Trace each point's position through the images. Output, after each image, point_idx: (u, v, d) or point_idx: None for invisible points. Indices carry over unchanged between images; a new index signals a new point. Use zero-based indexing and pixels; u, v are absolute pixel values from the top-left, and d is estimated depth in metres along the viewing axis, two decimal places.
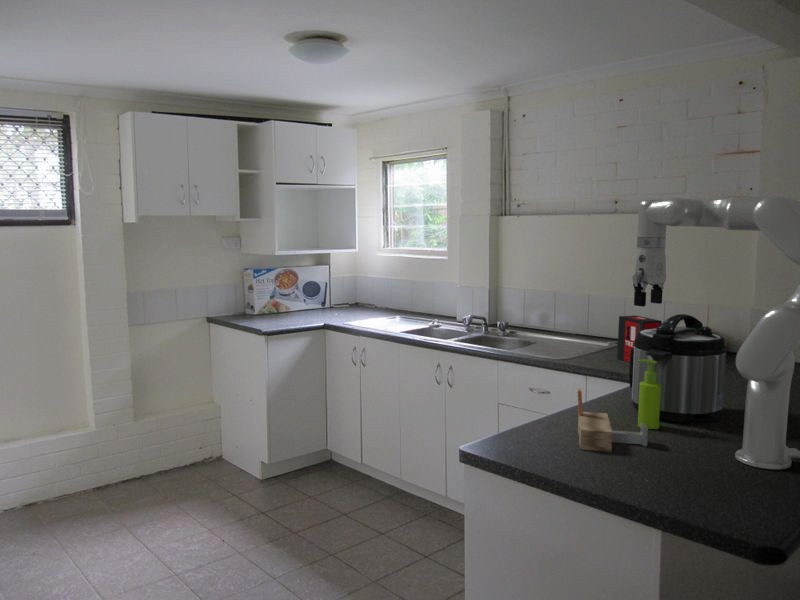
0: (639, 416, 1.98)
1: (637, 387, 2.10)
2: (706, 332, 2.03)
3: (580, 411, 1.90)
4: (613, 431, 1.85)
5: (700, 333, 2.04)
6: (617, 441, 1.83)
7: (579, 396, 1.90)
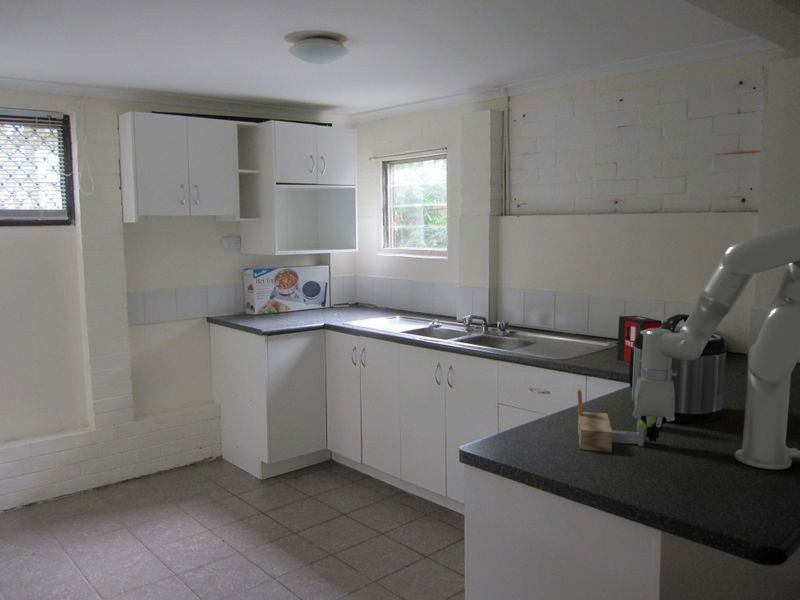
0: None
1: None
2: None
3: (580, 411, 1.90)
4: None
5: None
6: (613, 440, 1.83)
7: (579, 396, 1.90)
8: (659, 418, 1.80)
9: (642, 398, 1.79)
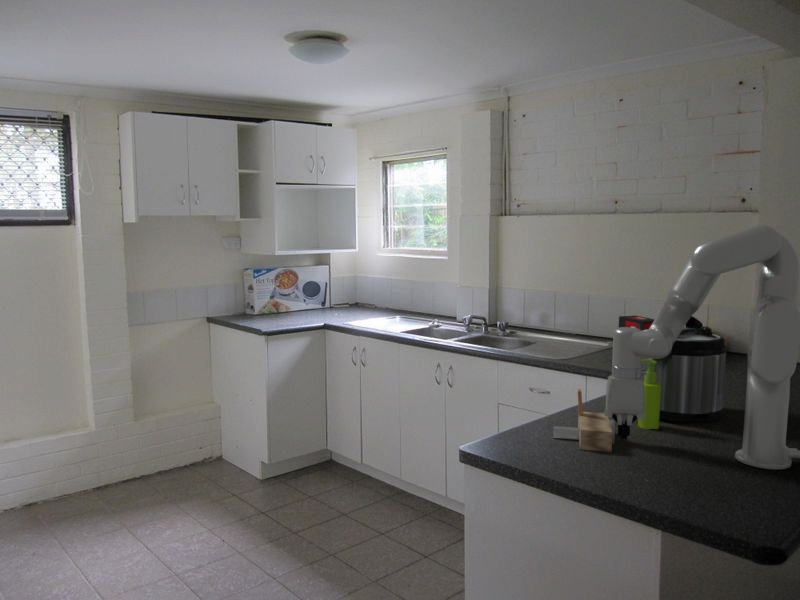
0: None
1: None
2: (706, 332, 2.03)
3: (580, 411, 1.90)
4: None
5: (700, 333, 2.04)
6: None
7: (579, 396, 1.90)
8: (630, 416, 1.82)
9: (612, 396, 1.81)
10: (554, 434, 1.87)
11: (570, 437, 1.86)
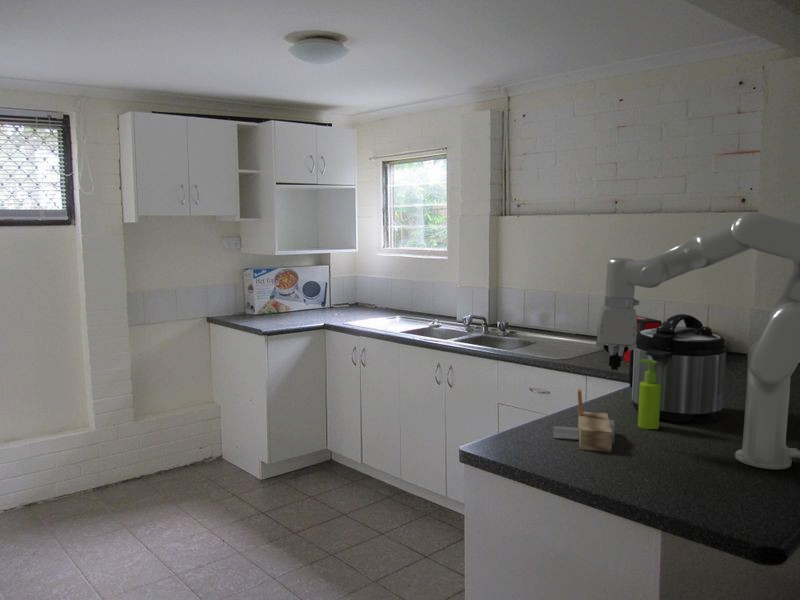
0: (639, 416, 1.98)
1: (637, 387, 2.10)
2: (706, 332, 2.03)
3: (580, 411, 1.90)
4: None
5: (700, 333, 2.04)
6: None
7: (579, 396, 1.90)
8: (621, 346, 1.82)
9: (605, 326, 1.81)
10: (554, 434, 1.87)
11: (570, 437, 1.86)
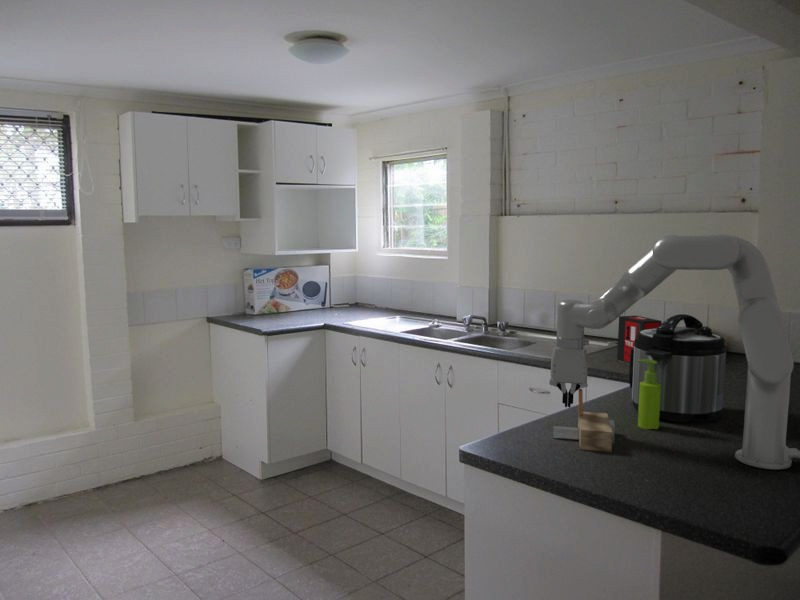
0: (639, 416, 1.98)
1: (637, 387, 2.10)
2: (706, 332, 2.03)
3: (580, 411, 1.90)
4: None
5: (700, 333, 2.04)
6: None
7: (580, 396, 1.90)
8: (573, 385, 1.90)
9: (556, 366, 1.90)
10: (554, 434, 1.87)
11: (570, 437, 1.86)
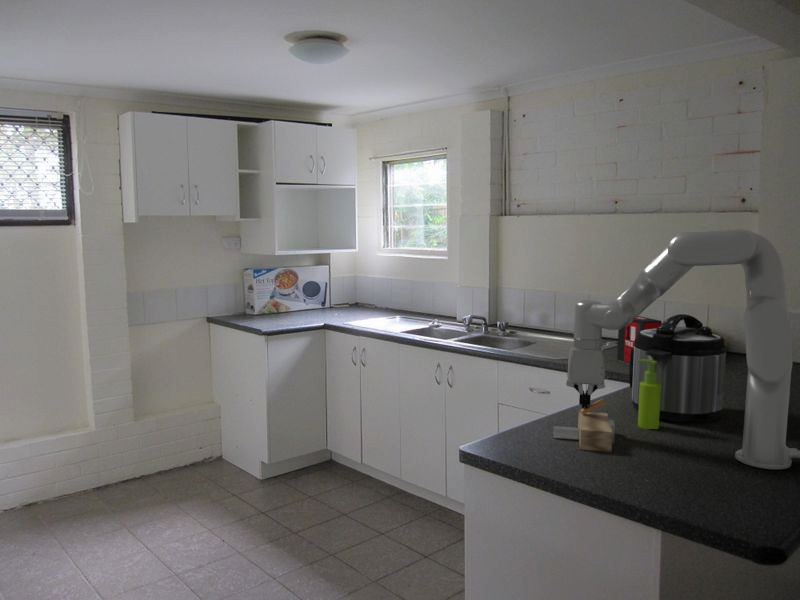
0: (639, 416, 1.98)
1: (637, 387, 2.10)
2: (706, 332, 2.03)
3: (585, 411, 1.90)
4: None
5: (700, 333, 2.04)
6: None
7: (598, 404, 1.89)
8: (590, 386, 1.89)
9: (574, 367, 1.89)
10: (554, 434, 1.87)
11: (570, 437, 1.86)
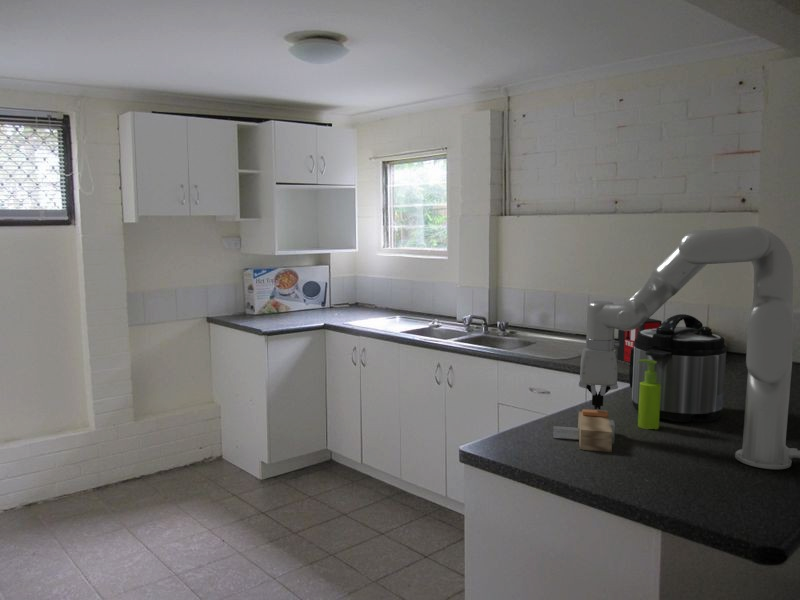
0: (639, 416, 1.98)
1: (637, 387, 2.10)
2: (706, 332, 2.03)
3: (586, 413, 1.90)
4: None
5: (700, 333, 2.04)
6: None
7: (602, 414, 1.89)
8: (603, 386, 1.88)
9: (586, 367, 1.88)
10: (554, 434, 1.87)
11: (570, 437, 1.86)
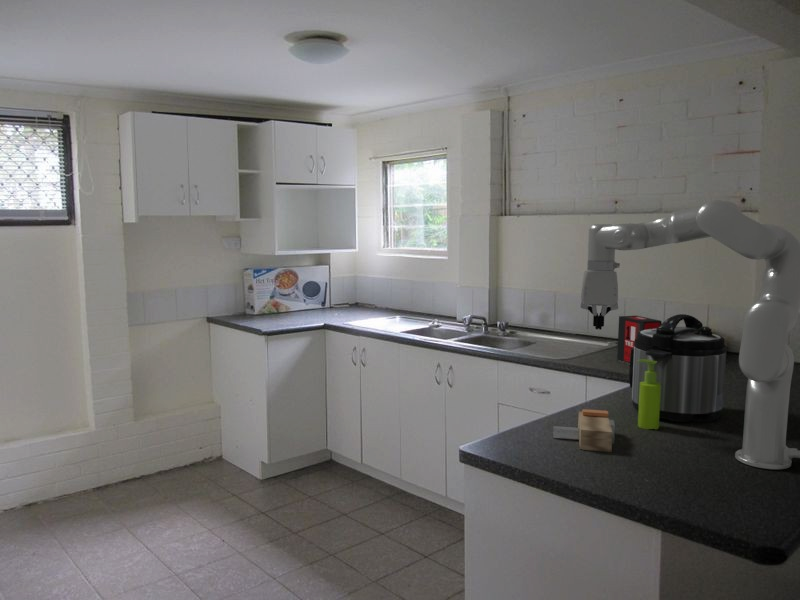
0: (639, 416, 1.98)
1: (637, 387, 2.10)
2: (706, 332, 2.03)
3: (586, 413, 1.90)
4: None
5: (700, 333, 2.04)
6: None
7: (602, 414, 1.89)
8: (604, 307, 1.94)
9: (588, 288, 1.94)
10: (554, 434, 1.87)
11: (570, 437, 1.86)
